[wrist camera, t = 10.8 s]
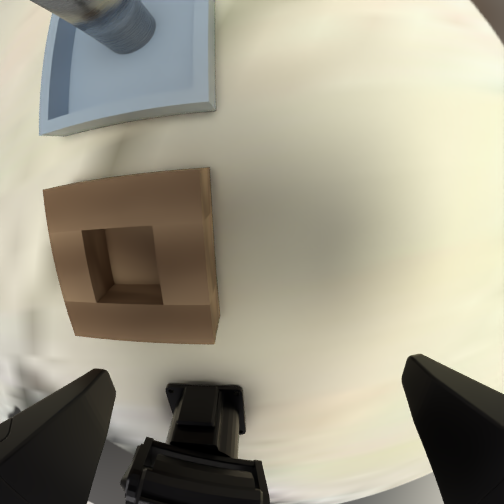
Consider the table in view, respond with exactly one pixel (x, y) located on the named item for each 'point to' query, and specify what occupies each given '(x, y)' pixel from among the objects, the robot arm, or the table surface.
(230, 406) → the robot arm
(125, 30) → the pin
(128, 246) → the socket block
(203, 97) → the tray
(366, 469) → the table surface
